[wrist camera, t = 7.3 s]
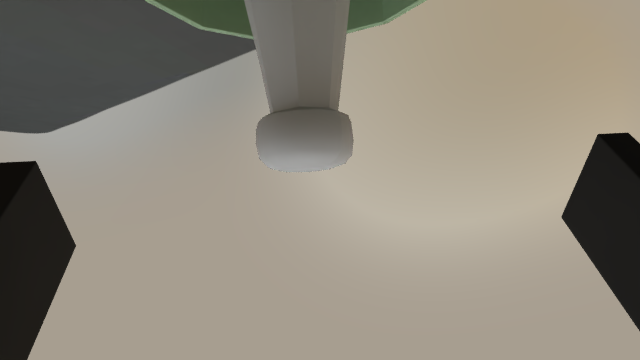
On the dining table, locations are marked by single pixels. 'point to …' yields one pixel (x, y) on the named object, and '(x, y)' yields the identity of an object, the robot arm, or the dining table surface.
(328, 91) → the salt shaker
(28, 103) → the dining table surface
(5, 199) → the robot arm
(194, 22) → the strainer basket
